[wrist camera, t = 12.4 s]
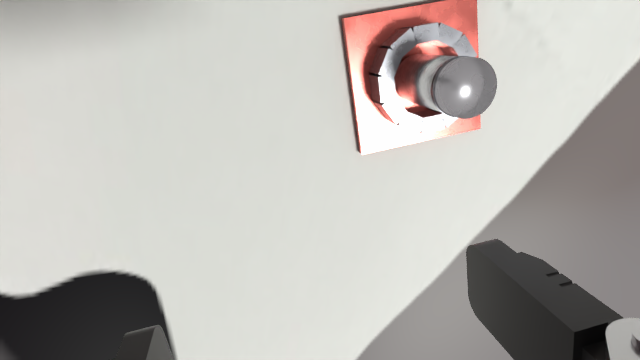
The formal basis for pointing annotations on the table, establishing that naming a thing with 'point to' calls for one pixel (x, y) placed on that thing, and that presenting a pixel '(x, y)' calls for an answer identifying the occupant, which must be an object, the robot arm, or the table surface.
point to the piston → (447, 83)
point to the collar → (384, 59)
